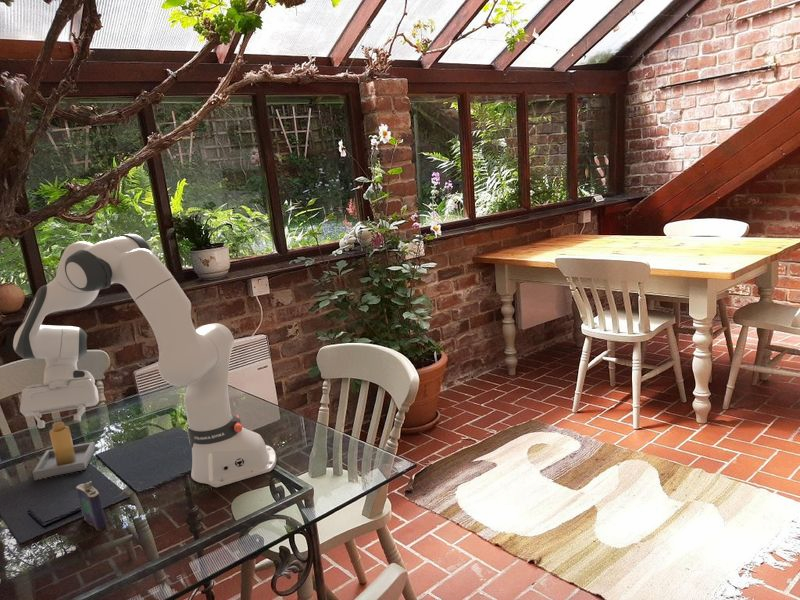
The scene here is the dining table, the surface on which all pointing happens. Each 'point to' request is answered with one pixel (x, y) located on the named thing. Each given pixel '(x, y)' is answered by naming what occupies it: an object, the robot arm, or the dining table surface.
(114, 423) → the dining table surface
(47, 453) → the gray tray
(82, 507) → the flask
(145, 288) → the robot arm
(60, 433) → the amber bottle
